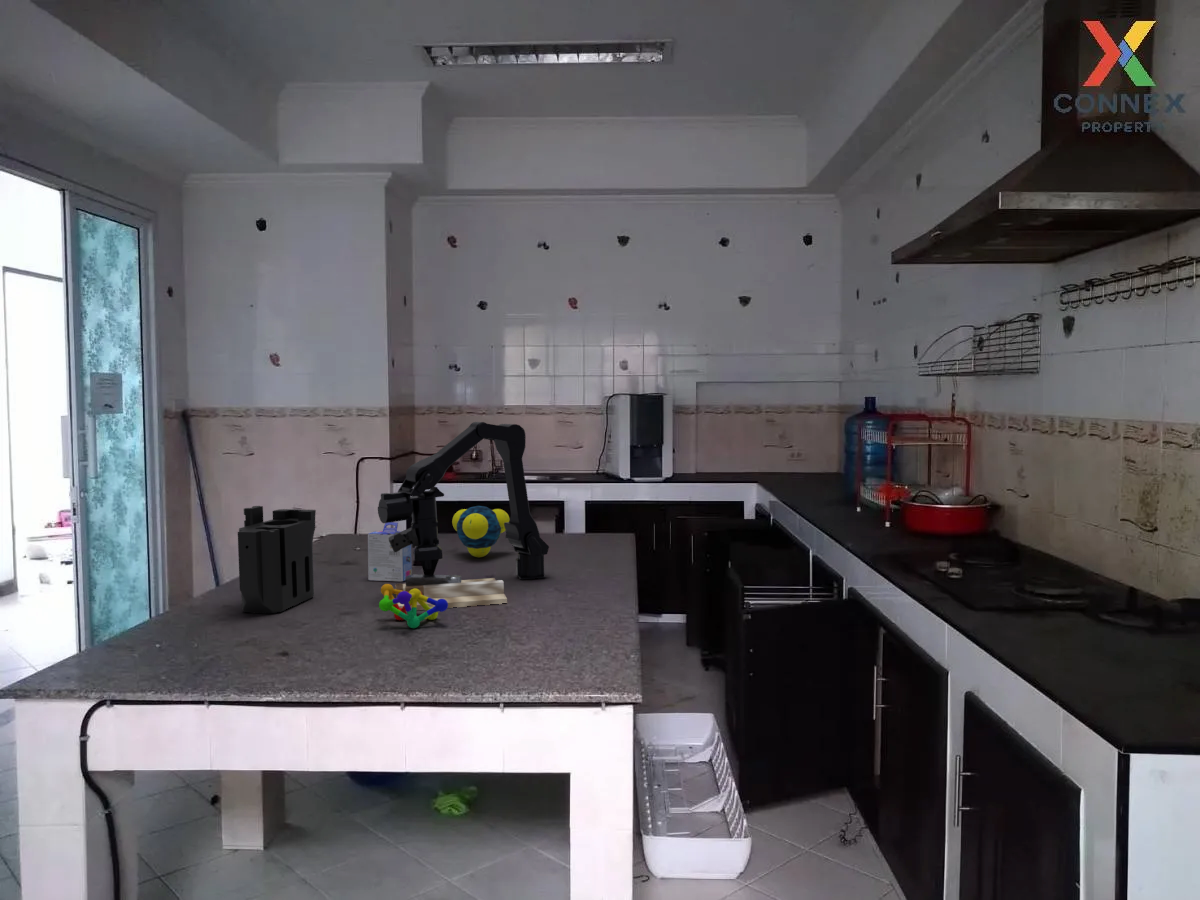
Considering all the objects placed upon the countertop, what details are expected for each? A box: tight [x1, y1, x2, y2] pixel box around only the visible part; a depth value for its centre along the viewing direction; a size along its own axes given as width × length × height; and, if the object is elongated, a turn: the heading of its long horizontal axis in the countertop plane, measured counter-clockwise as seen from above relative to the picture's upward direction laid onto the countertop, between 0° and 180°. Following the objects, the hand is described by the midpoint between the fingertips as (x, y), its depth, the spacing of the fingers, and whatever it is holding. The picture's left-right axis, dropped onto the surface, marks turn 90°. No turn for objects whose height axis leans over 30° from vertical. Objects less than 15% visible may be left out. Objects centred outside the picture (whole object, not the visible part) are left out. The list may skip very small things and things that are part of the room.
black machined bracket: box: [237, 505, 317, 614], centre depth 188 cm, size 12×21×22 cm, turn 169°
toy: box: [451, 505, 510, 558], centre depth 241 cm, size 16×17×15 cm
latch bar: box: [405, 573, 462, 586], centre depth 196 cm, size 13×4×3 cm, turn 82°
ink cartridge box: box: [367, 522, 413, 582], centre depth 214 cm, size 10×6×14 cm, turn 78°
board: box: [394, 577, 508, 611], centre depth 196 cm, size 24×22×4 cm
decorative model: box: [378, 583, 449, 629], centre depth 173 cm, size 13×9×15 cm
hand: (428, 582), depth 199 cm, fingers closed
